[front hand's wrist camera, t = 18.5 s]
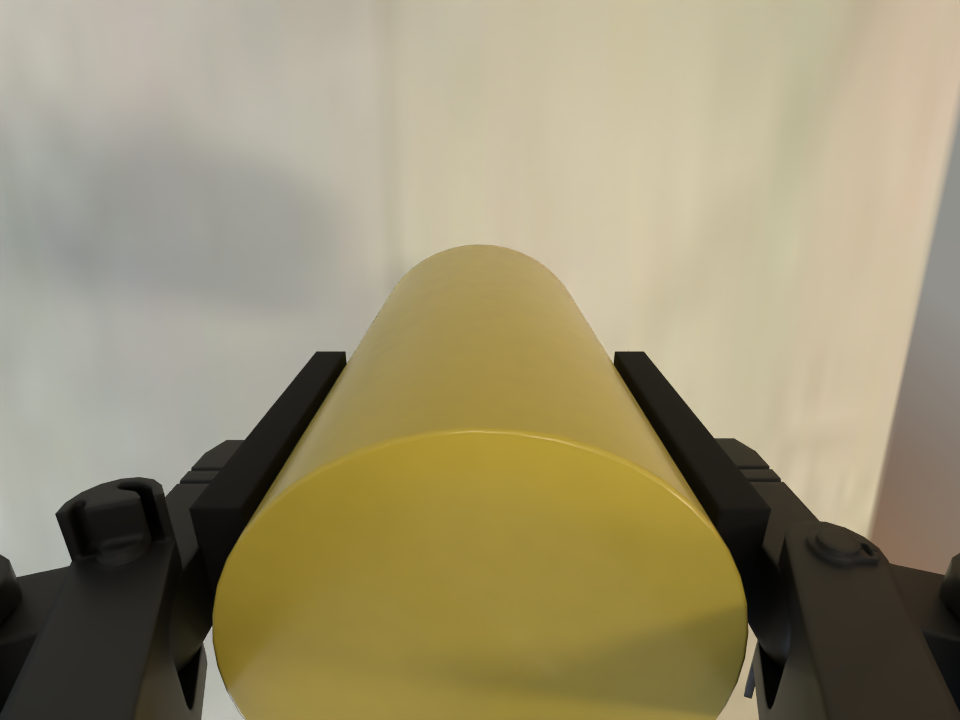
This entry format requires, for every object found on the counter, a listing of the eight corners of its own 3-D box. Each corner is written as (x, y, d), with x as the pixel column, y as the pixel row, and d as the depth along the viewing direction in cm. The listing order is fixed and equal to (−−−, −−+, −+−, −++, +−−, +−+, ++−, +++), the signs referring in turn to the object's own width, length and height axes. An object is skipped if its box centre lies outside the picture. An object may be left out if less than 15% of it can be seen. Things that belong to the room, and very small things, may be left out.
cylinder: (625, 344, 18) (858, 657, 7) (482, 470, 20) (486, 877, 9) (476, 196, 16) (469, 297, 5) (335, 350, 18) (106, 669, 7)
